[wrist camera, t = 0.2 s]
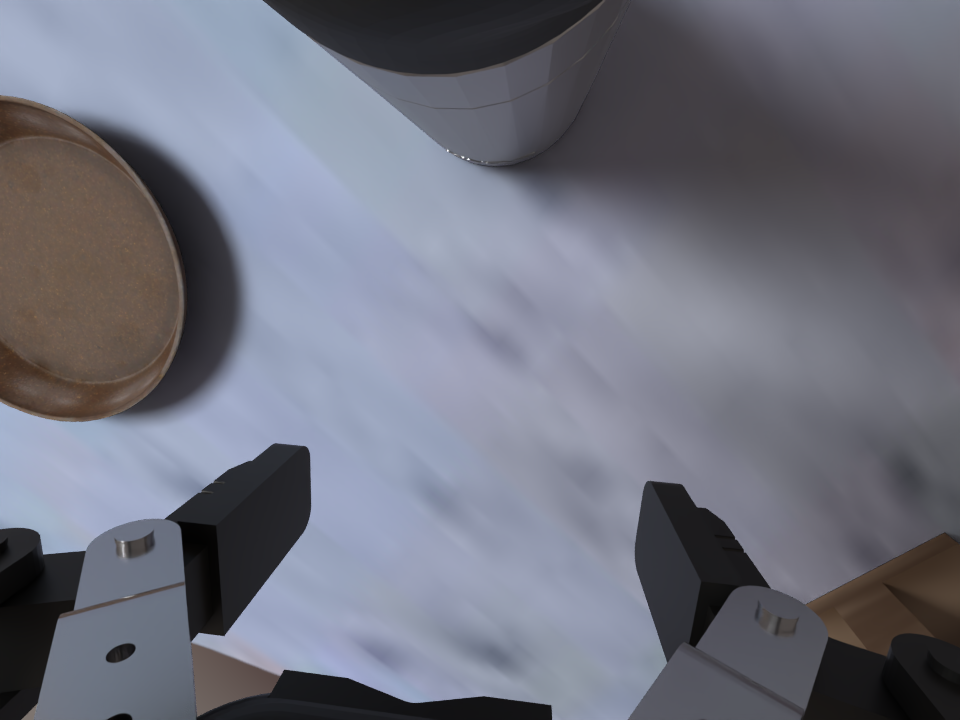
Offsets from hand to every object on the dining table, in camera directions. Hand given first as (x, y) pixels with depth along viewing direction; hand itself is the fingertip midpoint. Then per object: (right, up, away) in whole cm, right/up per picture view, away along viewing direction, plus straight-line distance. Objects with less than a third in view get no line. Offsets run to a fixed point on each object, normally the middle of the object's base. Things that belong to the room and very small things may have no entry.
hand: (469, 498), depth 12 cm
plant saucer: (-24, +9, +19) cm, 32 cm away
